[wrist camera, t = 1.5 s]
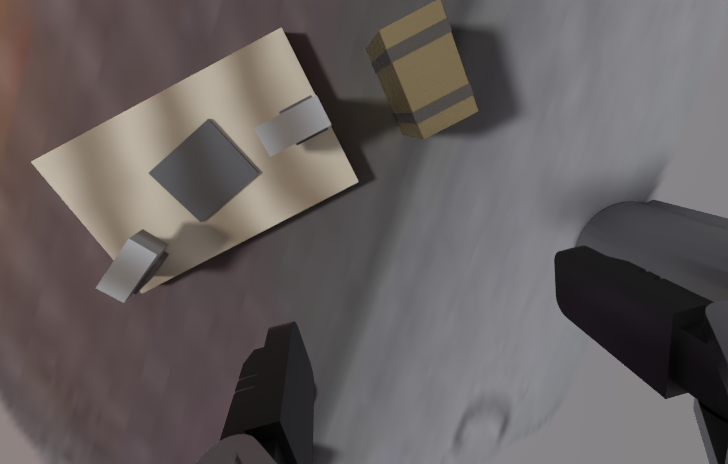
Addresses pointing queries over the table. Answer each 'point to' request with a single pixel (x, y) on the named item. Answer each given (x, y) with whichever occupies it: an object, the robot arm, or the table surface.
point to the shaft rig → (201, 166)
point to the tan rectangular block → (422, 72)
